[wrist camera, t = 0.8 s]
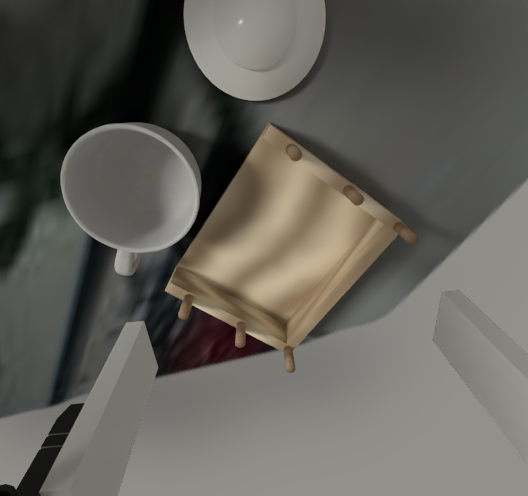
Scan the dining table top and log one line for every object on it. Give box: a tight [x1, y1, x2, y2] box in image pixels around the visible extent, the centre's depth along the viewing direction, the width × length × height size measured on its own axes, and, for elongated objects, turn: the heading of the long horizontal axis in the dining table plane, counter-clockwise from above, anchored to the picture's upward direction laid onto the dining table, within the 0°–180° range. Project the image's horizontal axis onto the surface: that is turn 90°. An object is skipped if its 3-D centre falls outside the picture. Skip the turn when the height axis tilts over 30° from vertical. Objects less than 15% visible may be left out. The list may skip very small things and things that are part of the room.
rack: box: [165, 122, 418, 373], centre depth 33 cm, size 16×19×8 cm
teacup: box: [60, 122, 201, 275], centre depth 30 cm, size 14×11×8 cm
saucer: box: [184, 0, 326, 101], centre depth 28 cm, size 12×12×2 cm
